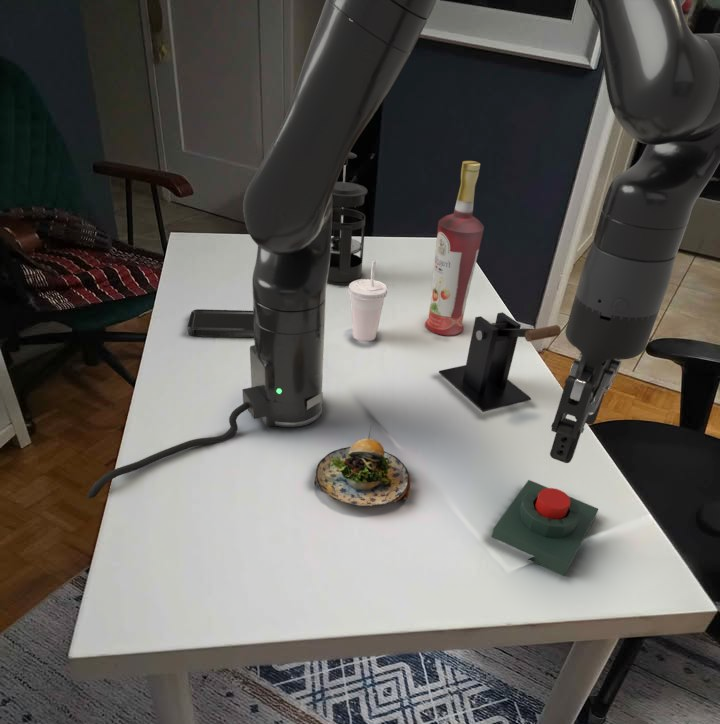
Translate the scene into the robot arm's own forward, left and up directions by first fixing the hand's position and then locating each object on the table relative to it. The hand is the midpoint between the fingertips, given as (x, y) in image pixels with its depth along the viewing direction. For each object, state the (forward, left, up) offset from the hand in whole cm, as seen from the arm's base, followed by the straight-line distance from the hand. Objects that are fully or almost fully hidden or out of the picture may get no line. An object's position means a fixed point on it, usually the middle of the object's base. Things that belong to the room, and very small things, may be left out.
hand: (572, 439), depth 70 cm
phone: (-18, +61, -13) cm, 65 cm away
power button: (-1, -1, -9) cm, 9 cm away
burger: (-17, +15, -13) cm, 26 cm away
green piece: (-1, -1, -13) cm, 13 cm away
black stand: (+11, +28, -13) cm, 33 cm away
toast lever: (+11, +23, -2) cm, 26 cm away
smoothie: (+1, +49, -13) cm, 51 cm away
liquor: (+16, +47, -13) cm, 52 cm away
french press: (+9, +75, -13) cm, 77 cm away
